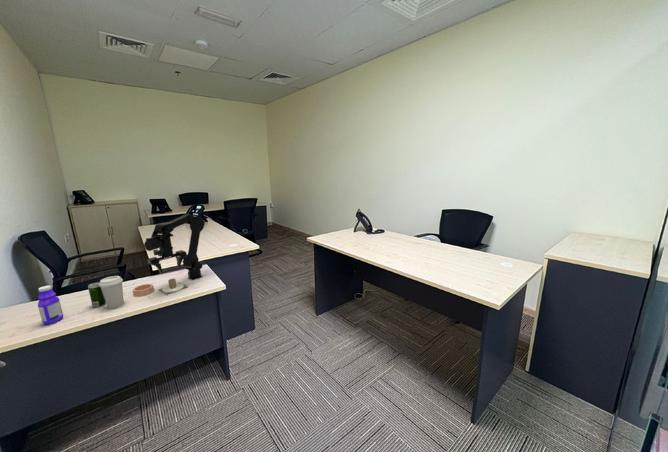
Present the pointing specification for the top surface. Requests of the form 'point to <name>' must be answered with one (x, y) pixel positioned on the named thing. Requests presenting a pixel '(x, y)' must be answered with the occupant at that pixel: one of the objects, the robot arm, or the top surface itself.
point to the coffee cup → (112, 291)
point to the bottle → (49, 305)
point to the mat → (172, 292)
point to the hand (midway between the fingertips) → (170, 271)
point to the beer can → (96, 295)
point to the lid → (172, 286)
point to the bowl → (143, 290)
